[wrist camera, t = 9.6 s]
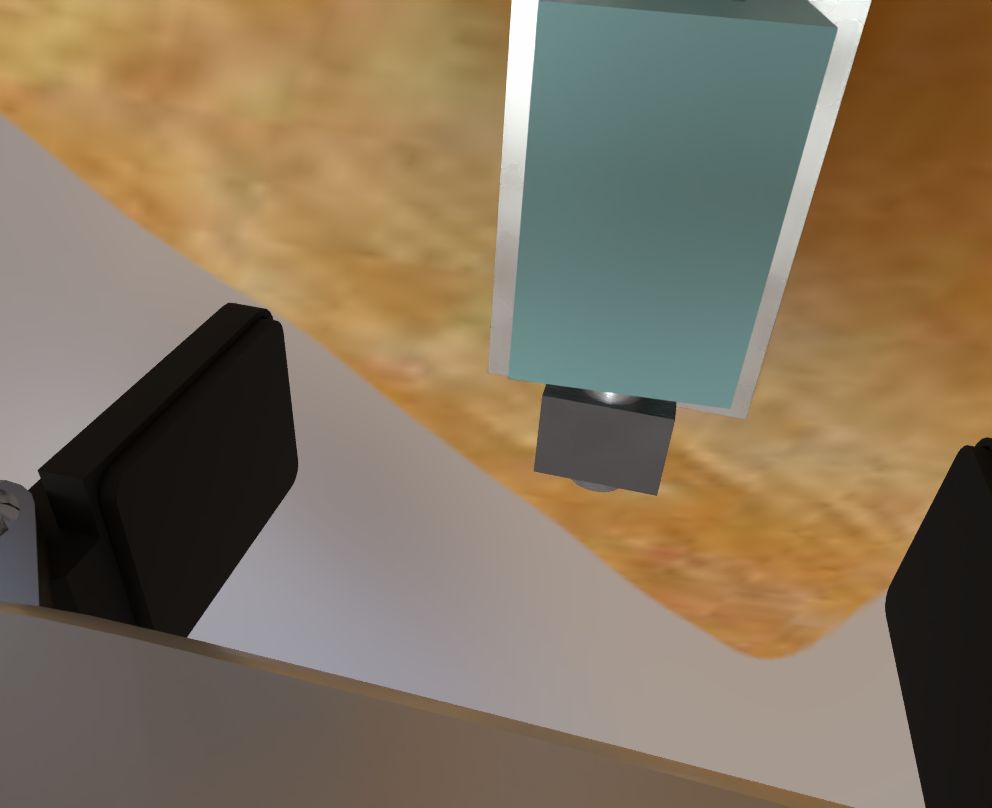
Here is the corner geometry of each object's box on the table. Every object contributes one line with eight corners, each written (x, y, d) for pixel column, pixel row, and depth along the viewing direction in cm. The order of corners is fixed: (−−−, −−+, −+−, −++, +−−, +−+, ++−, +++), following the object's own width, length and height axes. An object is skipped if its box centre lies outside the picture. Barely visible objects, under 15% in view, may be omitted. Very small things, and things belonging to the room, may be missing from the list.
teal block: (789, -16, 20) (838, 27, 15) (714, 295, 26) (730, 409, 20) (566, -35, 21) (538, 0, 16) (537, 273, 26) (508, 378, 21)
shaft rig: (944, -272, 19) (1039, -332, 13) (744, 401, 31) (749, 526, 25) (540, -290, 21) (469, -351, 15) (495, 357, 32) (445, 465, 26)
